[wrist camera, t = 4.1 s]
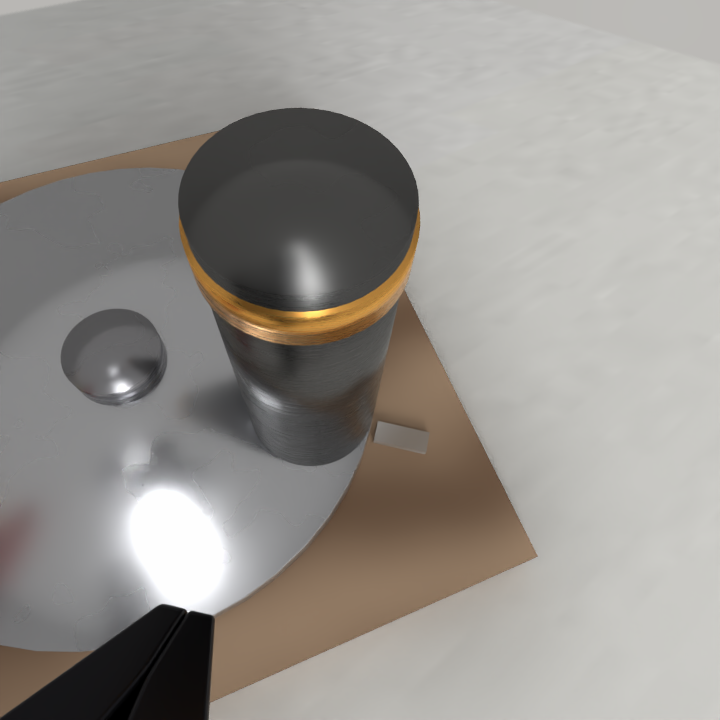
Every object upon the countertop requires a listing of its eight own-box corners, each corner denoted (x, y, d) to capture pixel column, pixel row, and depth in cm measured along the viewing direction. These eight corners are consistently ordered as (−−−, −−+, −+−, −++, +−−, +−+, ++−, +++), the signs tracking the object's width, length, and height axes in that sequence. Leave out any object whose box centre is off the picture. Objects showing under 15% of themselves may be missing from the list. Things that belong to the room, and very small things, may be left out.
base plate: (525, 560, 19) (540, 555, 18) (-170, 870, 15) (-219, 894, 14) (313, 129, 27) (313, 102, 26) (-180, 249, 23) (-211, 226, 22)
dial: (-260, 575, 17) (-1161, 488, 7) (14, 153, 24) (-212, -195, 14) (311, 715, 16) (287, 861, 6) (414, 236, 23) (483, -67, 13)
